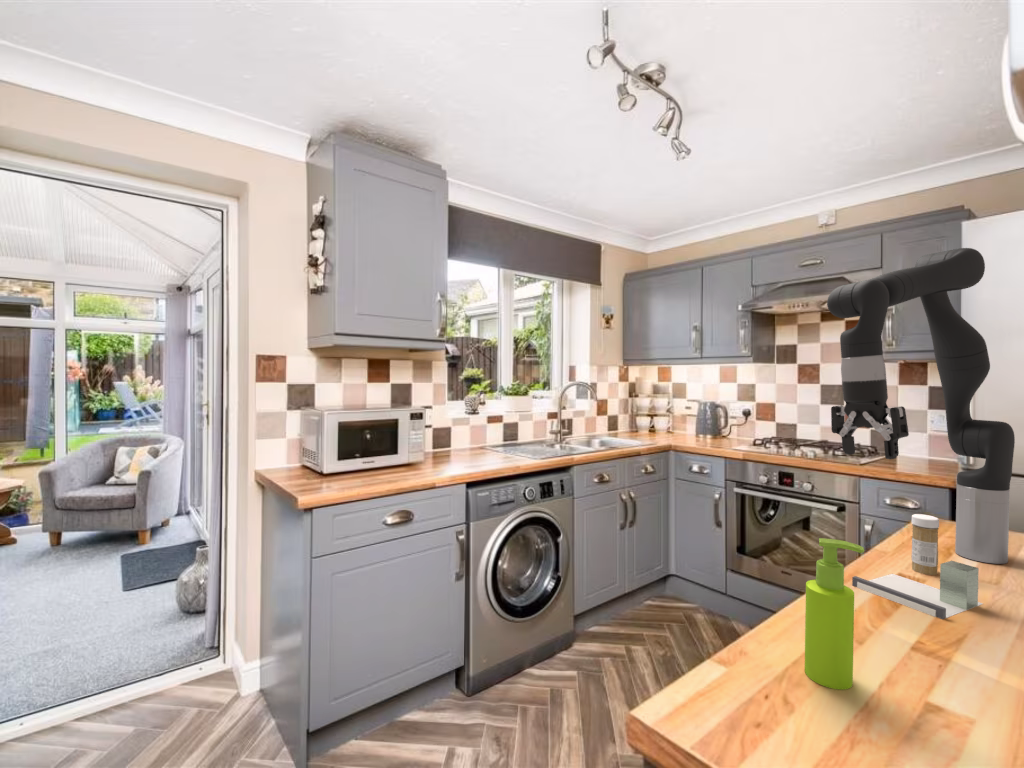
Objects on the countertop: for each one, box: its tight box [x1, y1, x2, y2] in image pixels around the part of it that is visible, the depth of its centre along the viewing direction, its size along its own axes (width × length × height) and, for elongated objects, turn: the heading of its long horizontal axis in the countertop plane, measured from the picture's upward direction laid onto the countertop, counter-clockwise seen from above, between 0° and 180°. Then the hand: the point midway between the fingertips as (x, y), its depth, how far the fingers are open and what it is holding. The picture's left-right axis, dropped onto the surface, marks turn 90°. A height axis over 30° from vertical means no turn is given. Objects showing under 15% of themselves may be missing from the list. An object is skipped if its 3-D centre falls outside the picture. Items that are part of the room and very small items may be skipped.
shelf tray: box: [851, 573, 984, 620], centre depth 95 cm, size 14×15×3 cm
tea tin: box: [939, 560, 980, 611], centre depth 91 cm, size 4×4×7 cm
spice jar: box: [911, 513, 940, 576], centre depth 106 cm, size 5×5×14 cm
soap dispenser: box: [804, 537, 865, 691], centre depth 71 cm, size 6×7×20 cm
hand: (869, 456), depth 101 cm, fingers open, 8 cm apart
